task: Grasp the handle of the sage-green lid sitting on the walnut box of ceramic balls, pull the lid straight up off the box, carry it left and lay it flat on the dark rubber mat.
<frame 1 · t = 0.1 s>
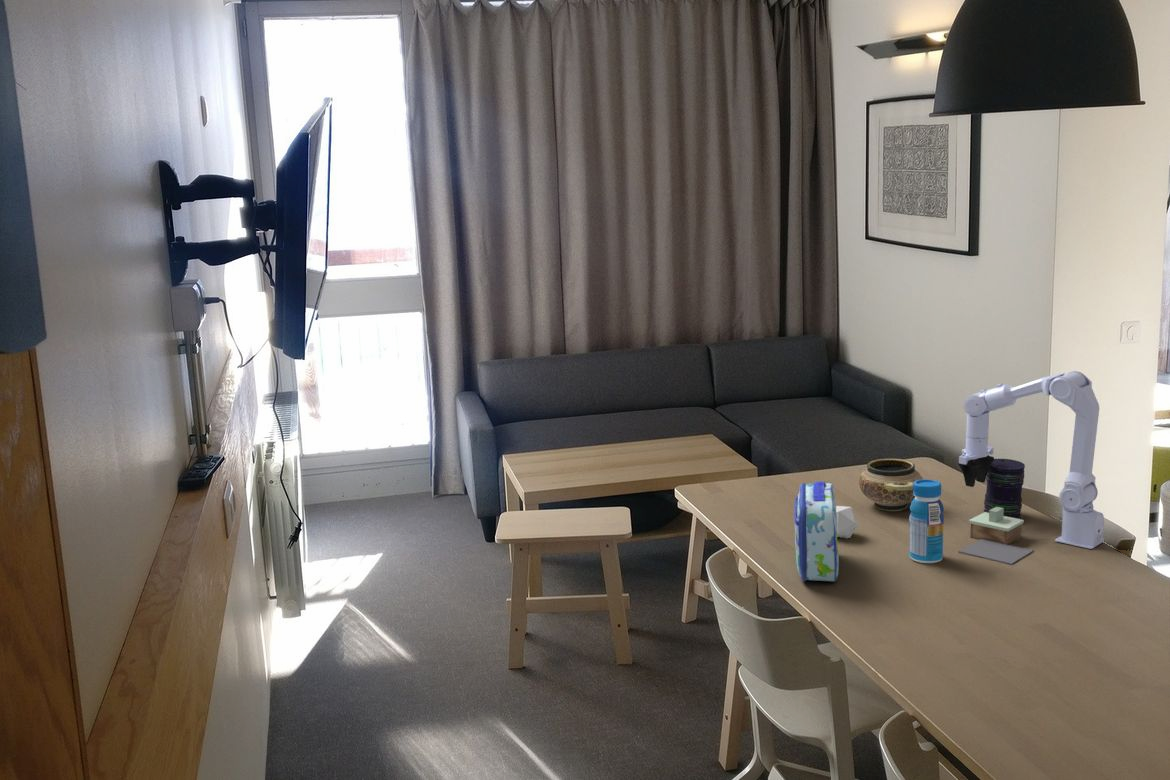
hand: (975, 483, 298), 10 cm above the table, fingers open, 5 cm apart
ceramic bowl: (890, 507, 315), on the table
box: (995, 537, 285), on the table
lunch box: (816, 569, 270), on the table
mat: (995, 551, 275), on the table
die: (840, 536, 293), on the table
lid: (996, 522, 285), point 4 cm above the table, touching box
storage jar: (1001, 515, 302), on the table, touching gripper
beverage bottle: (926, 559, 273), on the table
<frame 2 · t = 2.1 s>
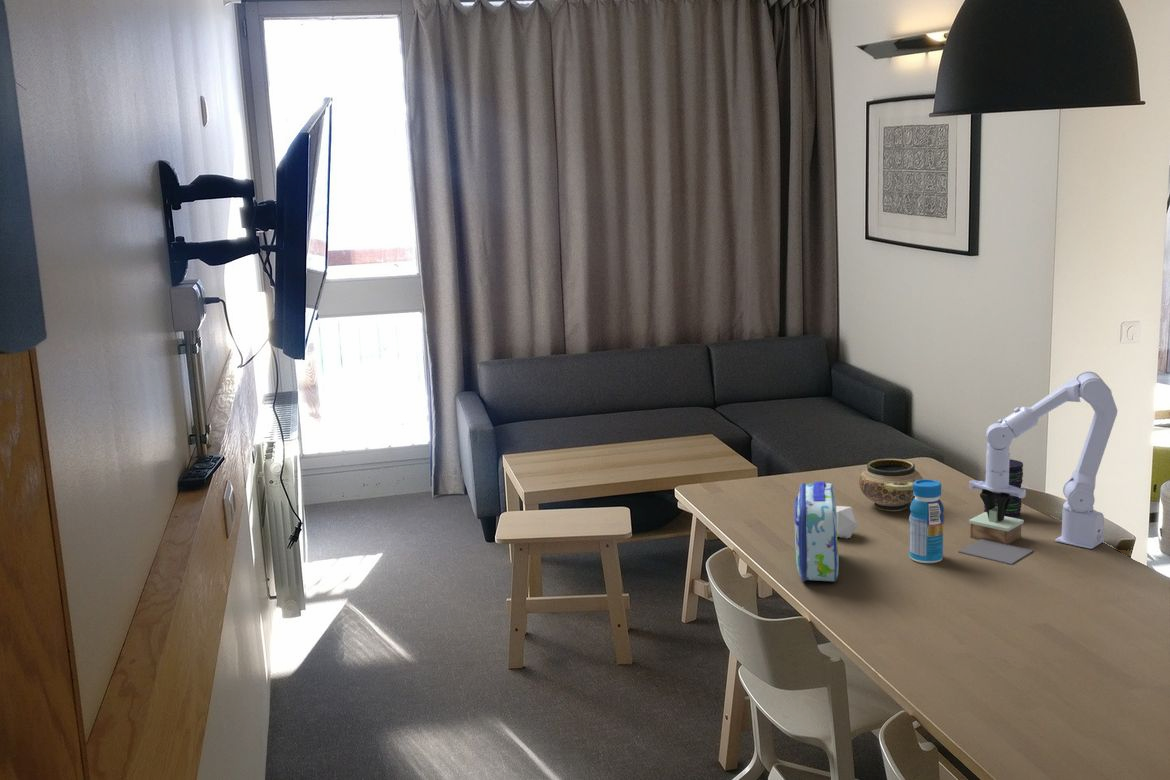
hand: (996, 519, 284), 5 cm above the table, fingers closed on lid, 2 cm apart
lid: (996, 522, 285), point 4 cm above the table, touching box, gripper
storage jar: (1002, 515, 302), on the table
everything else where it was.
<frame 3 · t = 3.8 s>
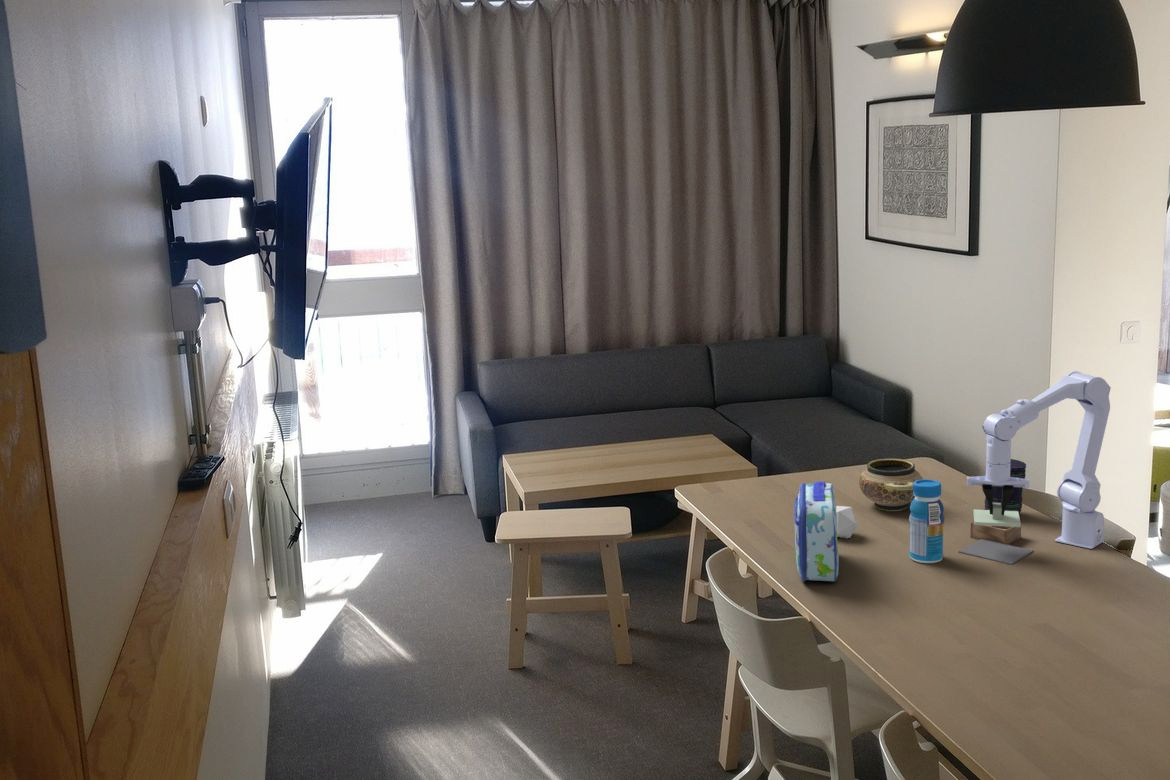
hand: (996, 513, 273), 10 cm above the table, fingers closed on lid
lid: (996, 519, 274), point 9 cm above the table, touching gripper
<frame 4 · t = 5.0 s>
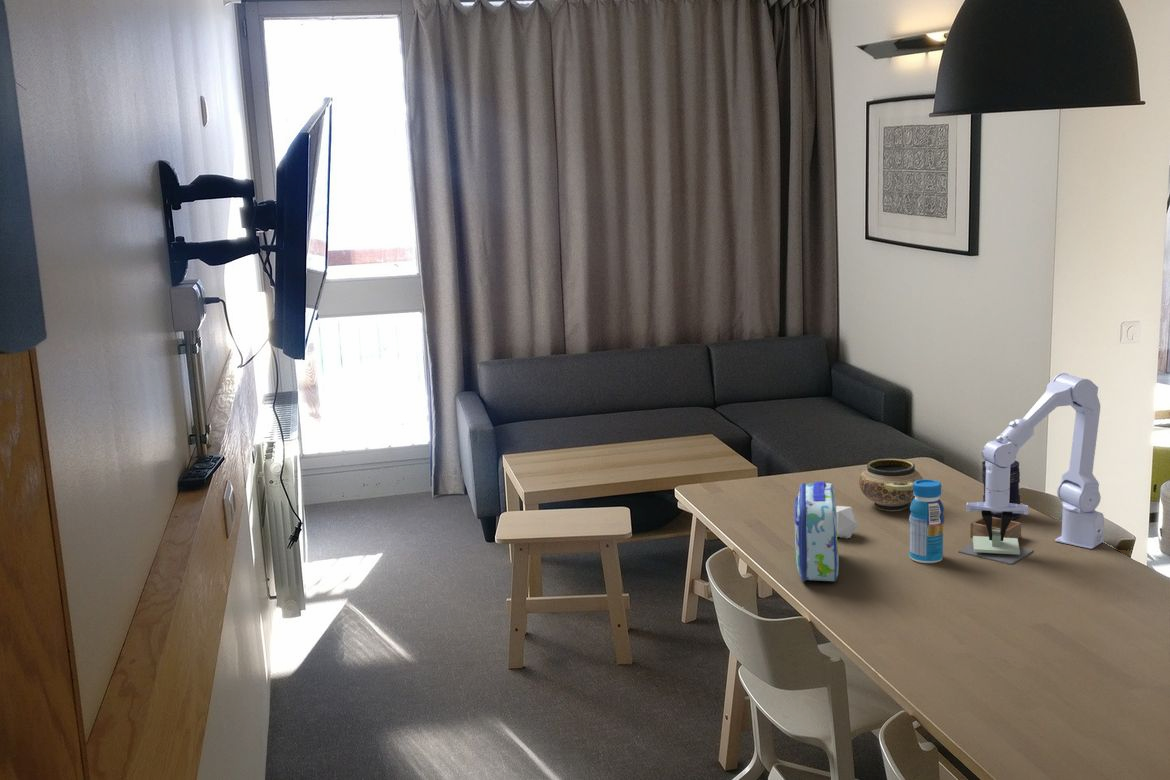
hand: (996, 539, 275), 3 cm above the table, fingers closed on lid, 2 cm apart
lid: (995, 546, 275), point 1 cm above the table, touching gripper
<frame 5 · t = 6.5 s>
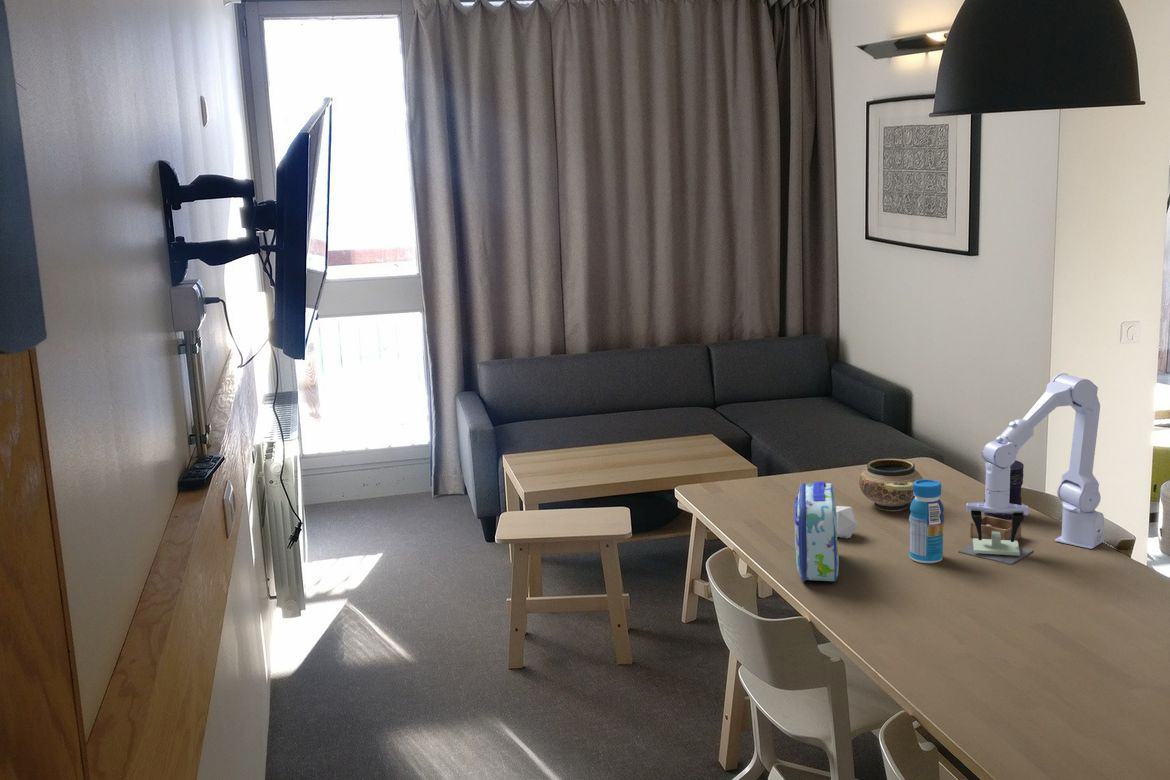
hand: (996, 539, 275), 3 cm above the table, fingers open, 7 cm apart
lid: (995, 548, 275), point 1 cm above the table, touching mat
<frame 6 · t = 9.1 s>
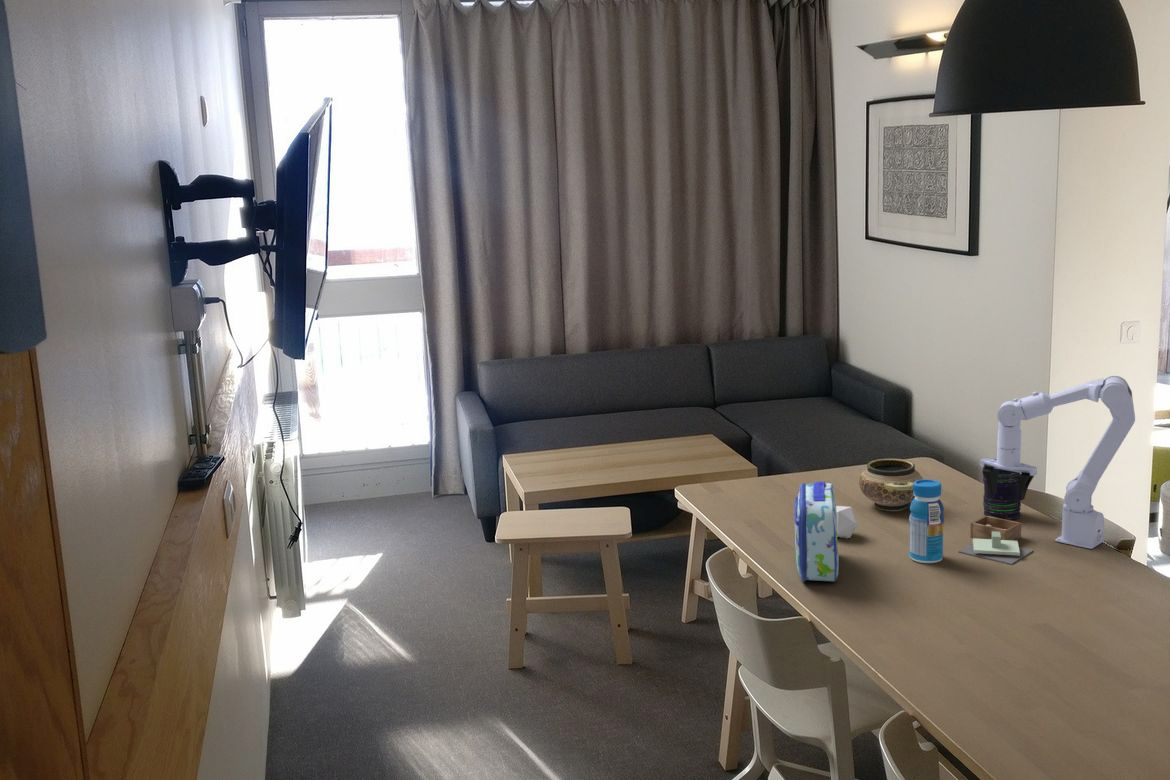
hand: (1007, 496, 285), 10 cm above the table, fingers open, 7 cm apart
at the end: lid inside the target area on the mat (0.1 cm from its centre), point 0.9 cm above the mat's base; lid tilted 0°; lid touching mat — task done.
